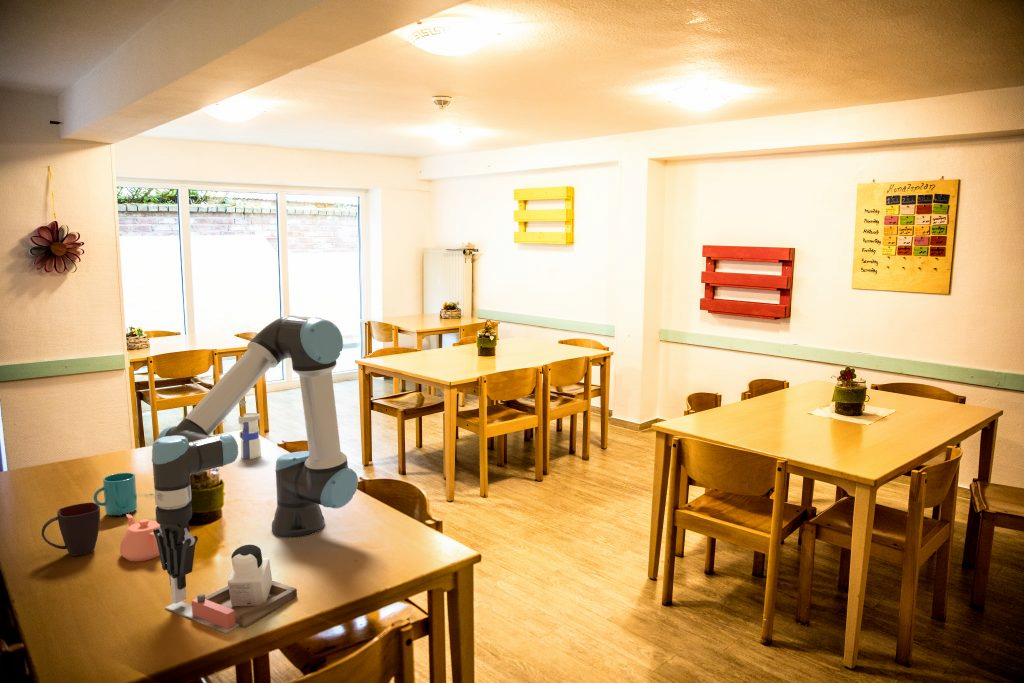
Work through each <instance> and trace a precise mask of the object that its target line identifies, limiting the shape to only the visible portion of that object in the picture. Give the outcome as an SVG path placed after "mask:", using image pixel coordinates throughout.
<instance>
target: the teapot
mask: <svg viewBox="0 0 1024 683" xmlns="http://www.w3.org/2000/svg"><path fill="white" fill-rule="evenodd" d="M125 515H126V518H127V519H128V528H127V529H126V531H125V532H124V534H123V536H122V537H121V540H120V547H119V553H120V555H121V556H122V557H123V558H124V559H125V560H128V561H129V562H135V563H136V562H144V561H149V560H152V559H156V558H157V557H160V554H159V550H158V545H157V540H156V537H155V535H154V533H153V530H154V529H157V528H159V527H160V524H158V523H157V522H156V520H149V519H145V518H144V519H141V520H139V521H138V522H136V521H135V519H134V518H135V517H133V516H132V514H131V513H128V514H125ZM162 537H163V536H162Z"/></svg>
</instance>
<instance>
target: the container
mask: <svg viewBox="0 0 1024 683" xmlns="http://www.w3.org/2000/svg"><path fill="white" fill-rule="evenodd" d="M230 557H231V563H232V569H231V572H230V575H229V578H228V579H227V586H228V587H229V593H230V599H231V605H232V606H259V605H260V604H262V603H264V602H266V600H267V597H268V594H269V591H270V588H271V586H272V581H273V576H272V569H271V561H270V559H269V558H263V555H262V549H261V548H260V547H259V546H257V545H255V544H245V545H241V546H239V547H237V548H236V549H235V550H234V551H233V552H232V554H231V556H230Z"/></svg>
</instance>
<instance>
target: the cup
mask: <svg viewBox="0 0 1024 683" xmlns="http://www.w3.org/2000/svg"><path fill="white" fill-rule="evenodd" d="M102 491H103V502H100V501H99V500H98V495H99V493H101V492H102ZM137 497H138V495H137V479H136V474H135V473H132V472H119V473H113V474H110V475H106V476H105V477H103V478H102V487H100V488H98V489H97V490H96V491H95V492H94V493H93V496H92V498H93V503H96V504H98V505H99V506H100V507H103V506H104V513H105V514H106V515H108V516H112V515H118V516H123V515H122V514H125V515H127V513H128V514H131V513H134V510H135V511H136V510H137V509H138V500H137V499H138V498H137ZM130 512H131V513H130Z"/></svg>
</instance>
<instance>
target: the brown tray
mask: <svg viewBox="0 0 1024 683" xmlns="http://www.w3.org/2000/svg"><path fill="white" fill-rule="evenodd" d="M297 597H298V589H297V588H295V587H292V586H289V585H287V584H284V583H281V582H277V581H274V580H272V586H271V588H270V591H269V594H268V597H267V600H266V602H264V603H262V604H260V605H259V606H232V605H231V599H230V593H229V587H228V585H226V586H224V587H223V588H220V589H218V590H216V591H215V592H212V593H210V594H208V595H205V599H206V600H209V601H212V602H214V603H217V604H219V605H222V606H225V607H227V608H230V609H233V610H235V626H233V627H231V628H229V629H226V628H224V627H221V626H219V625H216V624H214V623H211V622H209V621H206V620H204V619H201V618H199V617H196V616H194V615H192V604H189V603H186V602H184V601H181V602H178V603H176V604H175V603H173V602H172V603H171V604H169V605H167V606H165V607H164V609H165V610H167V611H170V612H172V613H175V614H177V615H179V616H182V617H184V618H187V619H190V620H192V621H194V622H198V623H199V624H202V625H204V626H207V627H209V628H211V629H214V630H217V631H219V632H221V633H224V634H227V633H229V632H231V631H232V630H235V629H237V628H238V627H241V628H243V629H245V628H247V627H249V626H251V625H253V624H254V623H256V622H258V621H260V620H262V619H263V618H265V617H266V616H269V615H271V614H272V613H273V612H275V611H277V610H279V609H280V608H282V607H283V606H284V605H286V604H288V603H289V602H291V601H292V600H294V599H296V598H297Z"/></svg>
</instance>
